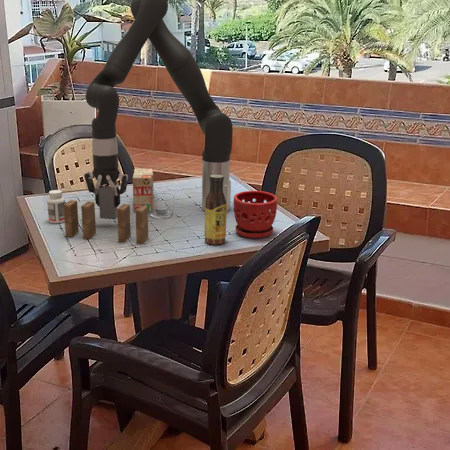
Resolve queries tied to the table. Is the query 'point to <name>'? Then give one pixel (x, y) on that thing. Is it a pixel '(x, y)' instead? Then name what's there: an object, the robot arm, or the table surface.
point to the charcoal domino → (107, 203)
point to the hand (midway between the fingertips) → (108, 205)
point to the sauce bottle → (215, 212)
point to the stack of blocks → (143, 189)
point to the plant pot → (255, 213)
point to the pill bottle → (56, 207)
